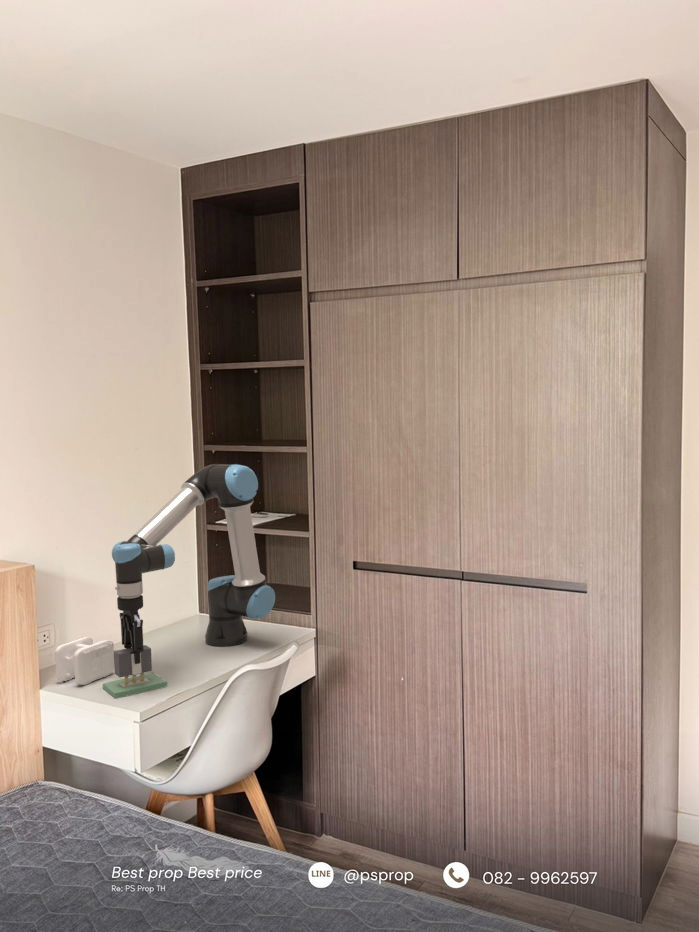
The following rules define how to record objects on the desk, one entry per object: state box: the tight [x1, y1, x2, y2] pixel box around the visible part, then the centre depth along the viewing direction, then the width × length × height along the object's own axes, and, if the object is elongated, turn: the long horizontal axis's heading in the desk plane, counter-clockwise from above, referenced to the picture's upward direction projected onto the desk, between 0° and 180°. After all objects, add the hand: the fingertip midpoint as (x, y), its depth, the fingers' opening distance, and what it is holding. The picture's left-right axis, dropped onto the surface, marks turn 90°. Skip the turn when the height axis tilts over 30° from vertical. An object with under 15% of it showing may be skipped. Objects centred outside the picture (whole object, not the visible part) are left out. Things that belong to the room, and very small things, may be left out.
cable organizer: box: [54, 636, 115, 686], centre depth 265 cm, size 15×11×12 cm
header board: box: [102, 672, 168, 699], centre depth 255 cm, size 16×11×6 cm
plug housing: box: [114, 644, 153, 678], centre depth 255 cm, size 10×4×7 cm, turn 124°
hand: (133, 671), depth 255 cm, fingers closed on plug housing, 4 cm apart
